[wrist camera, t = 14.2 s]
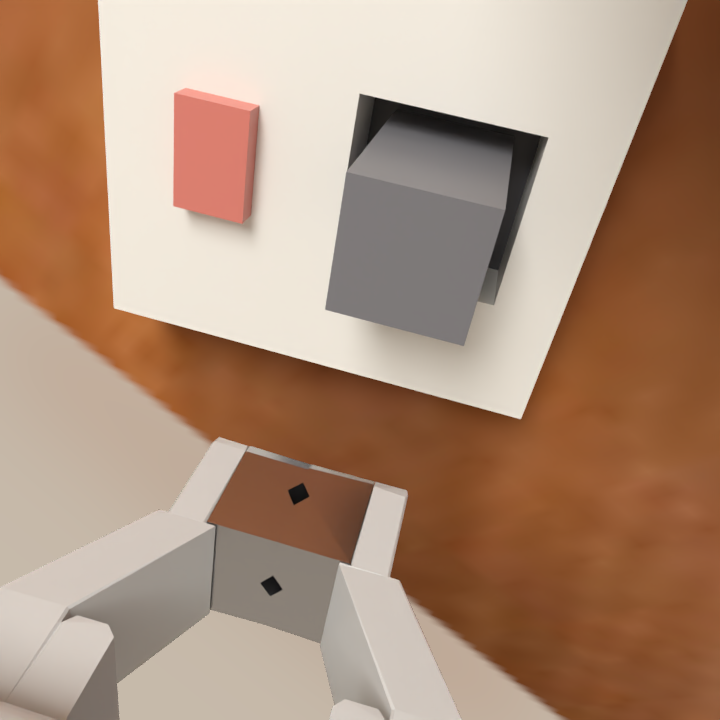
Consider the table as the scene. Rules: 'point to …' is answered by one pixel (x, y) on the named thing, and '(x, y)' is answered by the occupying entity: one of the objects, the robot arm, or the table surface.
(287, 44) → the socket plate
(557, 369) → the table surface
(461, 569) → the table surface
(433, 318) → the plug
